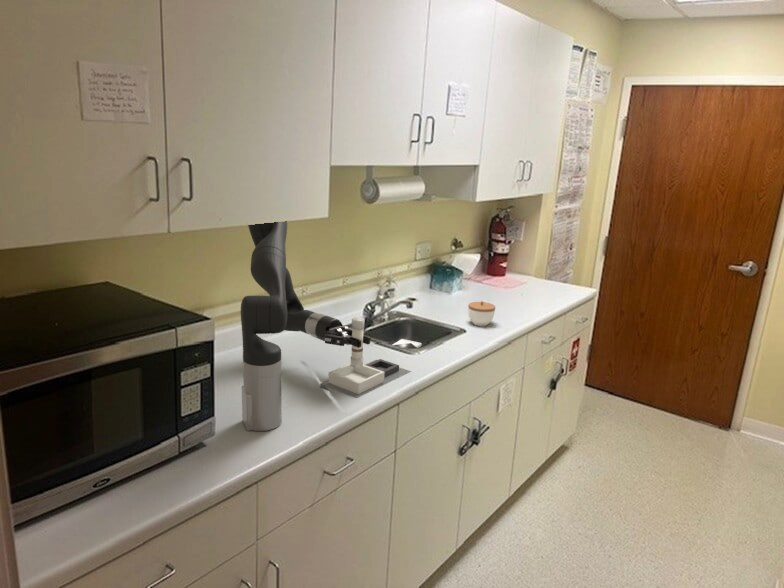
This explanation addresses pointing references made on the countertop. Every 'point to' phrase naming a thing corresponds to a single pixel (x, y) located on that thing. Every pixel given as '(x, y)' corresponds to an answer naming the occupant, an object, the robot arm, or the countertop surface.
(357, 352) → the white capped peg
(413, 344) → the hard drive
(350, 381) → the grey board with tray
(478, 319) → the lidded jar
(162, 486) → the countertop surface
